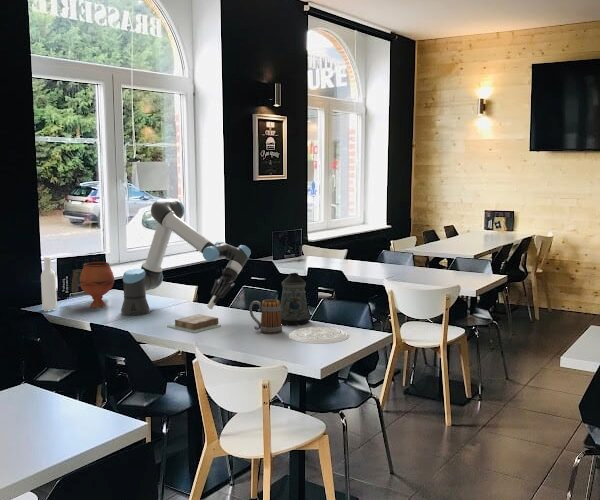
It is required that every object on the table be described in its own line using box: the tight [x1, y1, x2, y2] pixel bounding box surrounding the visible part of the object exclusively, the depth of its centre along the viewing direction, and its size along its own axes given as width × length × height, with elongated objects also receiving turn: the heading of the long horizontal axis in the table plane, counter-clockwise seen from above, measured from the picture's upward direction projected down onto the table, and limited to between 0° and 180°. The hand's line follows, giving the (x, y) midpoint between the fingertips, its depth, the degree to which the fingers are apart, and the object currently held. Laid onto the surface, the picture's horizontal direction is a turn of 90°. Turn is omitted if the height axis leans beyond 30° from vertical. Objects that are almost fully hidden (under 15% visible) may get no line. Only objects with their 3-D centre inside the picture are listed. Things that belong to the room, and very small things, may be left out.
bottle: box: [40, 256, 58, 312], centre depth 361 cm, size 8×8×30 cm
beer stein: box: [280, 272, 311, 327], centre depth 330 cm, size 16×19×25 cm
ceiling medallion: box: [288, 326, 350, 345], centre depth 303 cm, size 28×28×3 cm
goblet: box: [79, 261, 115, 308], centre depth 372 cm, size 19×19×25 cm
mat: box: [167, 323, 222, 334], centre depth 322 cm, size 20×18×1 cm
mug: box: [248, 298, 283, 335], centre depth 311 cm, size 16×11×15 cm
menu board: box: [174, 314, 219, 330], centre depth 323 cm, size 14×3×16 cm
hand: (209, 307), depth 329 cm, fingers closed
